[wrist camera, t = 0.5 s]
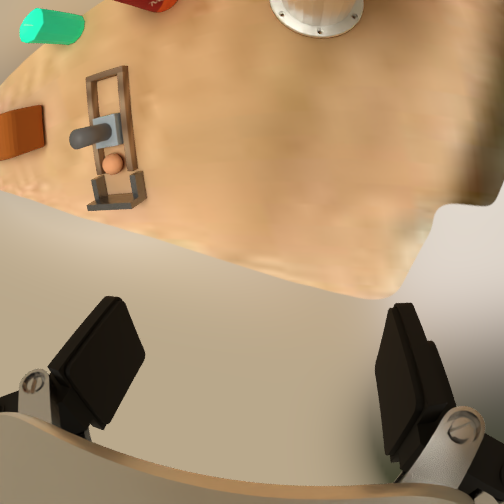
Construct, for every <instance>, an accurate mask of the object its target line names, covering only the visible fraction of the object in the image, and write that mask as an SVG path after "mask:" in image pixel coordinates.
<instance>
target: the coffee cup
mask: <svg viewBox="0 0 504 504" xmlns="http://www.w3.org/2000/svg"><path fill="white" fill-rule="evenodd" d="M114 1H118V2H121V3H125V4H128V5H132V6H135V7H138V8H141V9H145V10H148V11H152V12H162V11H165V10H168V9H169V8H171V7H172V6H173V5H174V4H175V3H176V2H177V0H114Z"/></svg>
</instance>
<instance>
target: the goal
mask: <svg viewBox="0 0 504 504" xmlns="http://www.w3.org/2000/svg"><path fill="white" fill-rule="evenodd" d="M91 181H92V186H93V192H94V196H95V201H93V202H91V203H90V204H88V205H87V209H88V211H97V210H117V209H132V208H134V207H135V206H137V205H138V204H139V203H141V202H142V201H144V200H145V199H146V198H147V196H146V190H145V183H144V177H143V171H137V172H135V173H133V174H131V175H130V181H131V187H132V193H128V194H114V195H108V194H107V189H106V184H105V178H104V175H102V176H98V177H96V178H94V179H92V180H91Z"/></svg>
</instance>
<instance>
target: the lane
mask: <svg viewBox="0 0 504 504" xmlns="http://www.w3.org/2000/svg"><path fill="white" fill-rule="evenodd" d="M116 75H117V79H118V93H119V105H120V115H121V124H122V133H123V141H124V149H125V156H126V163H127V169H128V171H134V170H136V169H138V165H137V158H136V151H135V143H134V134H133V126H132V116H131V106H130V94H129V80H128V66H119V67H116V68H113V69H110V70H106V71H103V72H100V73H97V74H94V75H91V76H89V77H86V90H87V102H88V113H89V122H90V126H93V119H95V118H99V108H98V97H97V84H96V81H99V80H102V79H106V78H109V77H112V76H116ZM92 145H93V152H94V159H95V165H96V171H97V175H101V174H104V173H106V172H105V171H104V169H103V166H102V164H103V160H104V158H105V156H104V149H103V148H99V149H96V144H92Z"/></svg>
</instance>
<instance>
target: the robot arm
mask: <svg viewBox="0 0 504 504" xmlns="http://www.w3.org/2000/svg"><path fill="white" fill-rule="evenodd" d="M269 1H270V6H271V8H272V11H273V12H274V14H275V16H276V17H277V18H278V19H279V21H280V22H281V23H282V24H284V25H285V26H286V27H287V28H289V29H291V30H292V31H294V32H296V33H299V34H301V35H304V36H308V37H313V38H331V37H335V36H339V35H342V34H344V33H346V32H348V31H349V30H350V29H352V28H353V27H354V26H355V25H356V24H357V23H358V21H359V20H360V18H361V16H362V13H363V8H364V1H363V0H269ZM281 14H283V15H284V16H283V17H281V16H280V15H281ZM352 16H354V17H355V19H353V18H352ZM319 31H320V32H321V33H322V34H318V32H319ZM144 359H145V351H144V349H143V346H142V344H141V342H140V339H139V337H138V334H137V332H136V329H135V327H134V325H133V322H132V319H131V317H130V315H129V312H128V309H127V306H126V304H125V303H124V301H122V299H121V298H119V297H113V296H106V297H104V298H103V299H102V301H101V302H100V303H99V304H98V305H97V306H96V307H95V309H94V310H93V311H92V312H91V313H90V315H89V316H88V317H87V318H86V319H85V320H84V322H83V323H82V324H81V325H80V327H79V328H78V329H77V330H76V331H75V333H74V334H73V335H72V336H71V337H70V339H69V340H68V341H67V342H66V344H65V345H64V346H63V347H62V349H61V350H60V351H59V353H58V354H57V355H56V356H55V358H54V359H53V360H52V362H51V363H50V364H49V365H48V368H49V370H50V371H51V373H50V375H49V374H48V373H47V372H46V371H45V370H43V369H35V370H32V371H30V372H29V373H27V374H26V375H25V376H24V377H23V378H22V380H21V382H20V386H19V391H16V392H14V393H11V394H8V395H5V396H3V397H0V504H504V444H503V443H501V442H499V441H498V440H496V439H494V438H492V437H490V436H489V435H487V434H485V422H484V420H483V417H482V416H481V415H480V414H479V412H478V411H476V410H475V409H473V408H470V407H467V406H458V407H456V403H455V401H454V397H453V394H452V391H451V387H450V384H449V381H448V378H447V375H446V373H445V370H444V367H443V364H442V361H441V358H440V356H439V353H438V350H437V348H436V345H435V343H434V342H433V341H427V339H426V336H425V333H424V331H423V328H422V326H421V323H420V321H419V318H418V316H417V313H416V311H415V308H414V306H413V304H412V303H396V304H395V305H394V307H393V308H390V309H389V310H388V314H387V318H386V323H385V328H384V332H383V336H382V340H381V344H380V349H379V352H378V356H377V360H376V364H375V376H376V382H377V389H378V396H379V403H380V411H381V419H382V429H383V438H384V449H385V454H386V455H390V459H391V462H400V469H401V470H403V471H402V472H401V474H400V475H399V476H398V477H397V479H396V480H395V481H394V483H388V484H371V485H353V486H352V485H351V486H294V485H293V486H292V485H276V484H264V483H253V482H245V481H238V480H230V479H224V478H218V477H212V476H206V475H201V474H196V473H192V472H187V471H182V470H178V469H174V468H170V467H166V466H163V465H159V464H155V463H152V462H148V461H145V460H142V459H138V458H135V457H132V456H129V455H126V454H123V453H120V452H117V451H114V450H112V449H109V448H106V447H103V446H101V445H98V444H96V443H93V442H92V441H91V437H90V433H89V428H88V427H89V425H90V424H91V425H92V426H93V427H96V428H99V429H101V430H104V428H105V426H106V424H109V423H110V422H111V420H112V418H113V416H114V414H115V412H116V411H117V409H118V407H119V405H120V403H121V401H122V399H123V397H124V396H125V394H126V392H127V390H128V388H129V386H130V385H131V383H132V381H133V379H134V377H135V376H136V374H137V372H138V370H139V368H140V367H141V365H142V363H143V361H144Z"/></svg>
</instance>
